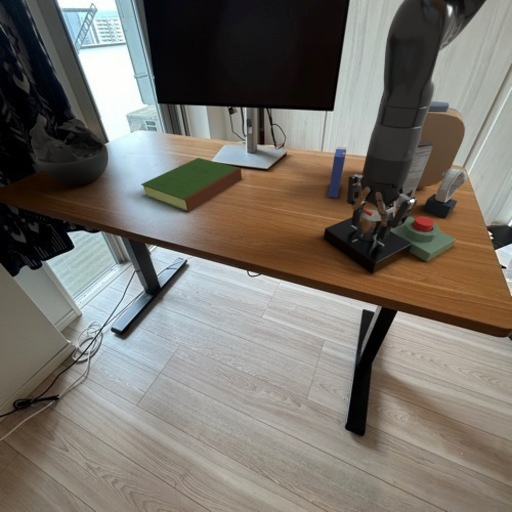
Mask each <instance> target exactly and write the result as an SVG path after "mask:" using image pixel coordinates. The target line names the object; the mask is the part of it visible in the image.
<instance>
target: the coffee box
mask: <svg viewBox="0 0 512 512" xmlns="http://www.w3.org/2000/svg"><path fill="white" fill-rule="evenodd" d="M433 145H434V143H433V142H430V141H428V140H425V139H423V138H420V141H419V144H418V147H417V150H416V153H415V156H414V159H413V162H412V165H411V168H410V170H409V173H408V176H407V179H406V181H405V183H404V184H403V194H405V195H406V196H408V197H409V198H412V197H415V194H416V191H417V189H416V188H417V186H418V183H419V181H420V178H421V176H422V173H423V171H424V168H425V166H426V163H427V161H428V158H429V155H430V153H431V150H432V148H433ZM395 202H396V207H398V204H399V200H398V199H397V200H396V201H395Z"/></svg>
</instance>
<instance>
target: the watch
mask: <svg viewBox="0 0 512 512" xmlns="http://www.w3.org/2000/svg"><path fill="white" fill-rule="evenodd" d="M442 176H444V179H443V180H442V181H441V183H440V184H439V187H438V188H437V190H436V193H433V194H431V196H429V197H428V198H427V199H426V201H425V204H424V206H423V208H422V211H424V212H427V213H429V214H432V215H435V216H437V217H440V218H442V219H443V218H444V219H446V218H447V217H449V216H450V214H451V213H452V212H453V211H454V209H455V207H456V205H457V203H458V200H456V199H453V198H452V197H453V195H454V194H455V192H456V190H457V189H460V187H462V186H463V185H464V184H465V183H466V182H467V181H468V179H469V175H468V172H466V171H465V170H464V169H462V168H458V167H451V168H450V169H448V170H447V171H446V172H445V173H443V174H442Z"/></svg>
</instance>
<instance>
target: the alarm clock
mask: <svg viewBox="0 0 512 512" xmlns="http://www.w3.org/2000/svg"><path fill="white" fill-rule="evenodd" d="M465 132H466V127H465V122H464V119H463V116H462V113H461V112H460V111H459V110H458V109H456V108H452V107H450V104H449V102H445V101H436V100H435V101H434V100H432V101H431V104H430V107H429V110H428V113H427V116H426V119H425V122H424V124H423V128H422V133H421V138H423V139H425V140H428V141H430V142H433V143H434V145H433V148H432V150H431V153H430V155H429V158H428V161H427V163H426V166H425V168H424V171H423V173H422V176H421V178H420V181H419V183H418V186H417V188H416V190H422V189H423V187H431V186H434V185H435V186H436V185H437V184H439V183H440V182H442V181H443V179H444V176H442V174H443V173H445V172H446V171H447V170H448V169H450V168H452V167H453V164H454V161H455V159H456V157H457V155H458V153H459V150H460V148H461V145H462V143H463V142H464V138H465V134H466V133H465Z"/></svg>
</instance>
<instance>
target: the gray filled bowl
mask: <svg viewBox="0 0 512 512" xmlns="http://www.w3.org/2000/svg"><path fill="white" fill-rule="evenodd" d="M57 129H59V130H62V131H66V132H68V133H69V132H70V133H69V134H68V135H67V136H66V137H65V139H64V141H63V140H59V139H57V138H54V137H52V136H49V134H48V133H47V132H46V130H45V122H44V121H43V120H38V121H37V122H36V123H35V124H34V126H33V128H31V129H30V130H29V134H28V136H31V139H30V144H31V147H32V151H33V152H34V155H35V162H36V164H37V165H38V166H39V168H40V169H41V170H42V171H43V172H44V173H45V174H47V175H48V176H49V177H50V178H53V179H54V180H56V181H59V182H61V183H64V184H68V185H74V186H76V185H77V186H81V185H87V184H91V183H93V182H95V181H97V180H98V179H99V178H100V177H102V175H104V173H105V172H106V169H107V167H108V163H109V152H108V151H109V150H108V147H107V145H106V144H105V143H104V142H103V141H102V139H101V138H98V136H97V135H96V134H95V133H94V132H93V131H92V130H91V129H90V128H88V127H86V124H85V123H84V122H83V120H80V119H78V118H73V119H69V120H67V122H66V121H64V122H63V123H62V125H60V126H58V127H57Z"/></svg>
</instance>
